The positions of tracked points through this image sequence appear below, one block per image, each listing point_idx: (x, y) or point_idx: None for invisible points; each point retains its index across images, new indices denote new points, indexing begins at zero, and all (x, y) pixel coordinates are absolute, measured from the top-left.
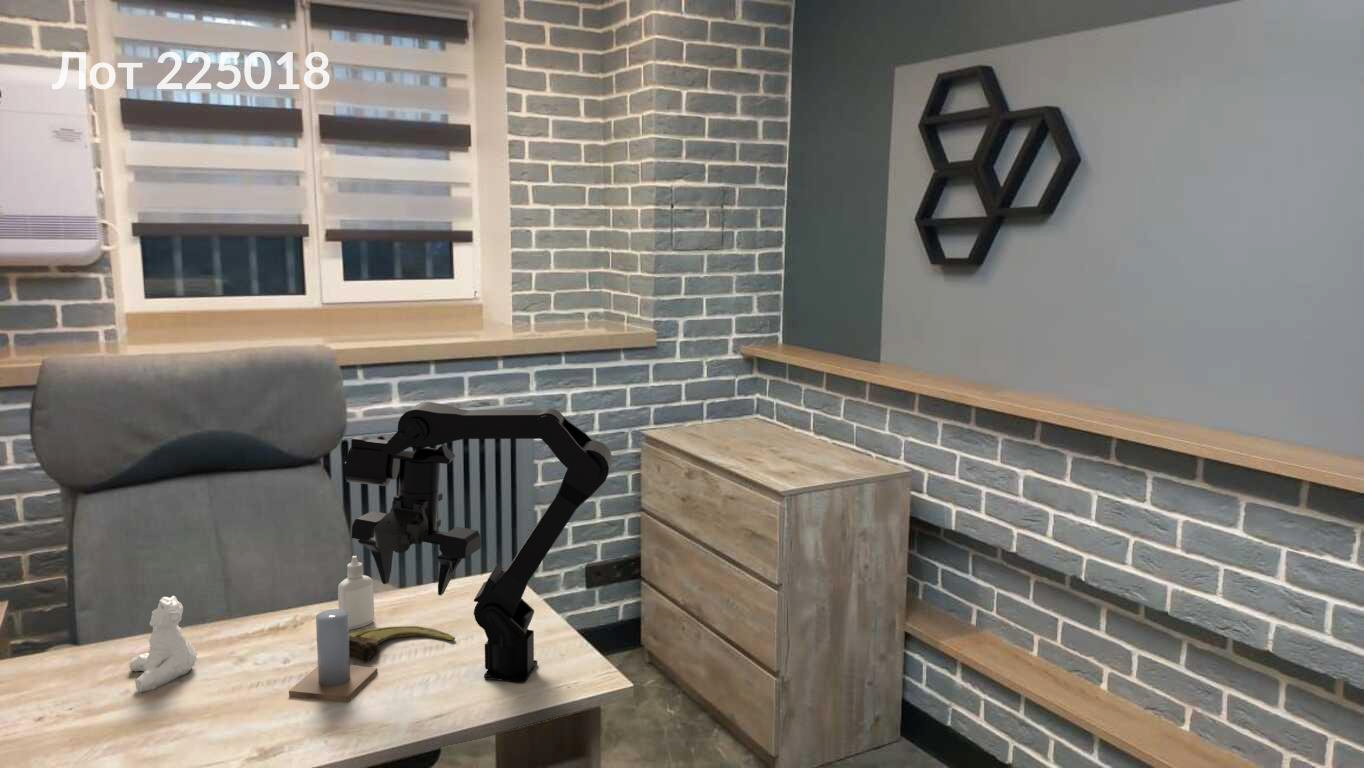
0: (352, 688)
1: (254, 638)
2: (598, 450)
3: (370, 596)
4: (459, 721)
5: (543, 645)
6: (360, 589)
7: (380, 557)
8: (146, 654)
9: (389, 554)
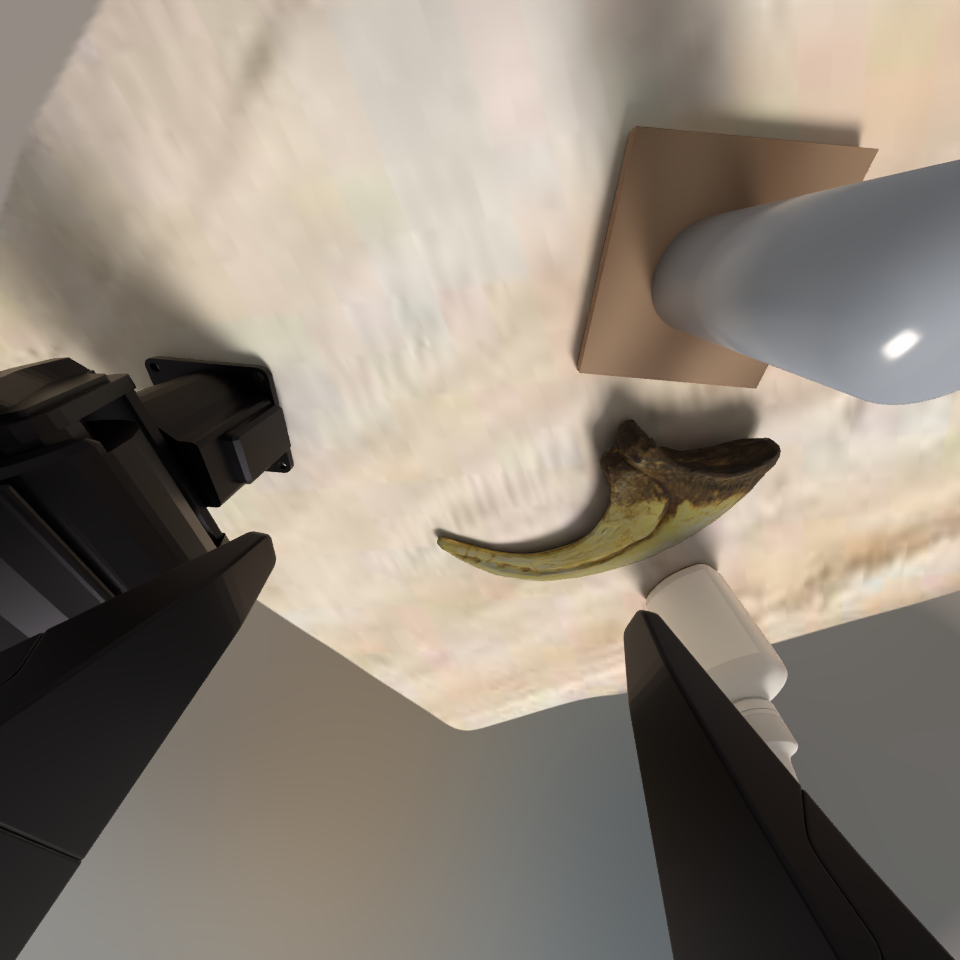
0: (629, 209)
1: (938, 515)
2: None
3: None
4: (157, 19)
5: None
6: (713, 663)
7: (815, 903)
8: None
9: (693, 896)
